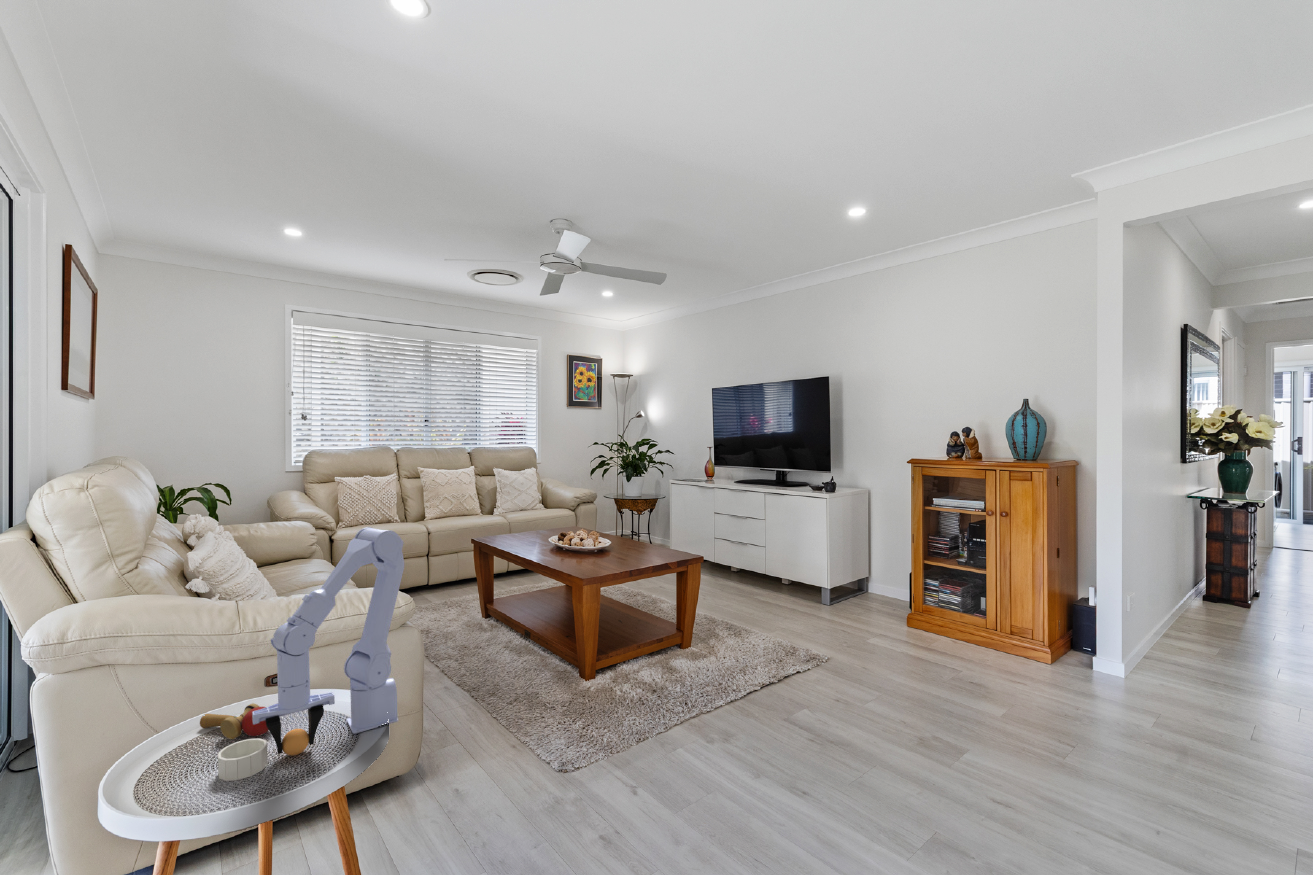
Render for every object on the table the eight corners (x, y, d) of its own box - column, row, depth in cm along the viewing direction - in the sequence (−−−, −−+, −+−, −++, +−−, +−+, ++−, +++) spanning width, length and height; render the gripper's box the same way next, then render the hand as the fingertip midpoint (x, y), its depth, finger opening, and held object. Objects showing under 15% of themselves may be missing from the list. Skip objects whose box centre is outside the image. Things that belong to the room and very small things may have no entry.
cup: (265, 753, 127) (265, 734, 127) (269, 770, 120) (268, 750, 120) (218, 766, 122) (217, 747, 122) (219, 785, 115) (218, 764, 115)
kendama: (187, 743, 134) (252, 741, 130) (188, 712, 135) (252, 709, 131) (220, 732, 142) (283, 730, 137) (221, 703, 143) (283, 700, 138)
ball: (307, 744, 130) (307, 721, 130) (311, 754, 126) (310, 730, 126) (280, 752, 127) (279, 728, 127) (282, 763, 123) (282, 738, 123)
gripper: (330, 667, 134) (331, 728, 134) (250, 684, 125) (252, 750, 125) (335, 677, 128) (337, 741, 128) (252, 696, 119) (254, 765, 120)
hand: (295, 746), depth 126 cm, fingers closed on ball, 5 cm apart
